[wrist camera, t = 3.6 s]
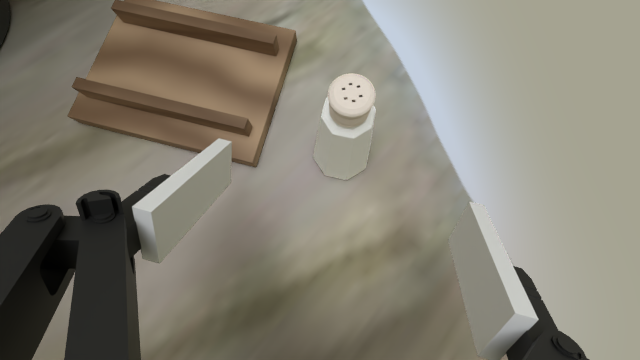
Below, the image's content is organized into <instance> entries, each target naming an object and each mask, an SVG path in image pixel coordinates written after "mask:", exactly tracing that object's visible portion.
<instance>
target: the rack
mask: <svg viewBox="0 0 640 360" xmlns="http://www.w3.org/2000/svg"><path fill="white" fill-rule="evenodd" d="M111 9H112V10H113V11H114V12H115V13H116V14H117V16H116V18H115V20H114V22H113V24H112V26H111V28H110V30H109V32H108V34H107V37H106V39H105V41H104V43H103V45H102V47H101V49H100V51H99V53H98V55H97V57H96V59H95V61H94V63H93V65H92V67H91V69H90V71H89V73H88V75H87V77H86V79H82V78H78V77H76V79H75V81H74V83H73V85H72V87H73V88H74V89H76V90H77V91H79V94H78V96H77V98H76V100H75V102H74V104H73V106H72V108H71V110H70V112H69V114H68V117H70V118H72V119H74V120H76V121H78V122H79V123H82V124H86V125H90V126H94V127H98V128H102V129H106V130H110V131H114V132H118V133H122V134H126V135H130V136H134V137H138V138H142V139H146V140H150V141H154V142H158V143H162V144H166V145H170V146H174V147H178V148H182V149H186V150H190V151H194V152H198V153H201V152H202V151H203V150H205V149H206V148H207V147H208V146H210V145H211V144H212V143H213V142H215V141H216V140H217V139H219V138H220V139H224V140H227V141H231V142H232V156H231V161H233V162H237V163H241V164H245V165H249V166H253V167H256V166H257V163H258V160H259V157H260V154H261V151H262V148H263V145H264V141H265V138H266V135H267V132H268V129H269V126H270V123H271V120H272V117H273V113H274V110H275V107H276V104H277V101H278V98H279V95H280V92H281V89H282V85H283V82H284V79H285V76H286V73H287V70H288V67H289V64H290V61H291V57H292V54H293V51H294V48H295V45H296V42H297V39H296V31H295V30H291V29H286V28H281V27H277V26H272V25H267V24H263V23H258V22H253V21H249V20H244V19H239V18H235V17H230V16H225V15H221V14H216V13H211V12H207V11H202V10H198V9H193V8H188V7H184V6H179V5H174V4H170V3H165V2H160V1H156V0H124V1H119V0H115V1H114V3H113V5H112V7H111Z"/></svg>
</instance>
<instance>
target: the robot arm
mask: <svg viewBox="0 0 640 360" xmlns="http://www.w3.org/2000/svg"><path fill="white" fill-rule="evenodd" d="M9 21H10V8H9V3H8V0H0V45H1V44H2V42H3V40H4V38H5V36H6V33H7V30H8V26H9ZM231 156H232V142H231V141H227V140H224V139H220V138H219V139H217V140H216V141H215V142H213V143H212V144H211V145H210V146H208V147H207V148H206V149H205V150H203V151H202V152H201V153H199V154H198V155H197V156H196V157H194V158H193V159H192V160H191V161H189V162H188V163H187V164H186V165H184V166H183V167H182V168H180V169H179V170H178V171H177V172H175V173H174V174H173V175H172V176H170V175H166V174H163V175H161V176H158V177H155V178H153V179H152V180H150V181H149V182H148V183H146V184H145V186H142V187H141V188H140V189H138V191H135V192H134V193H133V194H131V195H130V196H129V197H127V198H126V199H125V200H123V201H122V202H121V198H120V196H119V194H118V193H117V192H115V191H112V190H97V191H92V192H89V193H87V194H84V195H83V196H81V197H80V198H79V199H78V200H77V202H76V205H77V208H78V211H79V214H80V216H64V215H63V212H62V210H61V209H60V207H58V206H55V205H38V206H35V207H31V208H28V209H26V210H24V211H22V212H20V213H19V214H18V215H17V216H15V218H14V219H13V220H12V221H11V222H10V224H9V225H8V226H7V227H6V228H5V230H4V231H3V232H2V233H1V234H0V360H32V358H33V356H34V354H35V352H36V350H37V348H38V346H39V344H40V342H41V340H42V338H43V336H44V333H45V331H46V329H47V327H48V325H49V323H50V321H51V319H52V317H53V315H54V313H55V311H56V309H57V307H58V305H59V303H60V301H61V299H62V297H63V295H64V293H65V291H66V289H67V287H68V285H69V283H70V281H71V279H72V277H73V275H74V272H75V279H74V287H73V295H72V303H71V310H70V318H69V326H68V334H67V342H66V350H65V358H64V360H141V355H140V338H139V322H138V305H137V289H136V272H135V259H134V255H135V254H136V253H137V252H138V251H139V250H140V249H141V253H142V258H143V259H146V260H149V261H153V262H156V263H161V261H162V260H163V259H164V258H165V257H166V256H167V255H168V253H169V252H170V251H171V250H172V249H173V248H174V247H175V246H176V244H177V243H178V242H179V241H180V240H181V239H182V238H183V236H184V235H185V234H186V233H187V232H188V231H189V230H190V229H191V227H192V226H193V225H194V224H195V223H196V222H197V221H198V220H199V218H200V217H201V216H202V215H203V214H204V213H205V212H206V210H207V209H208V208H209V207H210V206H211V205H212V204H213V203H214V201H215V200H216V199H217V198H218V197H219V196H220V195H221V193H222V192H223V191H224V190H225V189H226V188H227V187H228V186H229V184H230V183H231ZM448 242H449V246H450V250H451V254H452V258H453V261H454V265H455V269H456V273H457V277H458V281H459V285H460V289H461V293H462V297H463V301H464V305H465V308H466V312H467V316H468V320H469V324H470V328H471V332H472V336H473V340H474V344H475V348H476V352H477V355H478V356H479V357H483V358H486V359H490V360H500V359H501V358H502V357H503V356H504V355H505V354H507V357H508V360H589V359H587V358H586V356H585V354H584V352H583V350H582V349H581V348H580V347H579V345H578V344H577V343H576V342H575V341H574V340H572V339H571V338H570V337H569V336H567V335H566V334H564V333H562V332H561V331H558V329H557V327H556V325H555V323H554V321H553V319H552V317H551V316H550V314H549V312H548V310H547V308H546V306H545V304H544V303H543V300H541V296H540V295H539V293H538V291H537V289H536V287H535V285H534V283H533V281H532V279H531V278H530V277H529V276H528V275H527V274H526V273H525V272H524V270H523V269H521V268H518V267H515V266H513V265H512V263H511V261H510V259H509V257H508V255H507V252H506V250H505V248H504V246H503V244H502V242H501V240H500V238H499V236H498V234H497V232H496V230H495V227H494V225H493V223H492V221H491V219H490V217H489V215H488V213H487V211H486V209H485V207H484V205H481V204H477V203H473V202H469V203H468V204H467V206H466V208H465V210H464V212H463V214H462V215H461V217H460V219H459V221H458V223H457V224H456V226H455V228H454V230H453V232H452V233H451V235H450V237H449V239H448ZM75 270H76V271H75Z"/></svg>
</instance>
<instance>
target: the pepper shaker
mask: <svg viewBox="0 0 640 360" xmlns="http://www.w3.org/2000/svg"><path fill="white" fill-rule="evenodd" d="M375 98H376V94H375V89H374V86H373V85H372V83H371V82H370V81H369V80H368V79H367V78H365V77H364V76H361V75H359V74H354V73H350V74H344V75H341V76H339V77H337V78H336V79H335V80H334V81H333V82H332V83H331V85H330V87H329V90H328V97H327V98H326V100H325V103H324V107H323V111H322V115H321V119H320V123H319V128H318V133H317V138H316V144H315V149H314V154H313V158H314V160H315V161H316V163H317V164H318V166H319V167H320V169H321V170H322V172H323V174H324V175H325V176H330V177H334V178H338V179H343V180H348V179H350V178H352V177H353V176H355V175H356V174H358V173H360V172H361V171H363V170H365V169H366V166H367V161H368V156H369V151H370V146H371V139H372V133H373V126H374V120H375V114H376V108H375V107H374V106H373V104H374V102H375Z"/></svg>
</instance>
